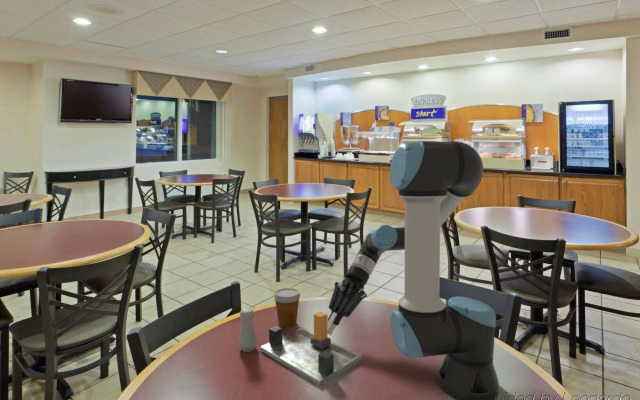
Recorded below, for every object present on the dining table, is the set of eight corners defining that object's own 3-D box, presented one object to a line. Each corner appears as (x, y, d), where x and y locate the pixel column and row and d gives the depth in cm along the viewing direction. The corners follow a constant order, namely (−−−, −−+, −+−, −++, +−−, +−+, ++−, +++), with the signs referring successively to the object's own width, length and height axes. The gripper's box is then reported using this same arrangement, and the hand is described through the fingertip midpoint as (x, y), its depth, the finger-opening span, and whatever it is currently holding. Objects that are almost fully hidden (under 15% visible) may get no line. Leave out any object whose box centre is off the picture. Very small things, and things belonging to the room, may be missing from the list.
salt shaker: (249, 342, 125) (248, 304, 123) (261, 348, 122) (260, 309, 120) (234, 349, 121) (233, 310, 119) (246, 355, 117) (245, 315, 115)
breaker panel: (361, 359, 114) (362, 339, 114) (319, 386, 102) (319, 363, 101) (302, 331, 132) (302, 313, 132) (260, 350, 120) (260, 331, 119)
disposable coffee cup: (302, 318, 142) (302, 288, 141) (298, 330, 133) (298, 298, 131) (277, 317, 143) (276, 287, 142) (271, 329, 134) (271, 297, 132)
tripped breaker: (330, 344, 120) (330, 314, 118) (321, 349, 117) (321, 318, 116) (319, 339, 123) (319, 309, 122) (310, 343, 120) (310, 313, 119)
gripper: (341, 260, 134) (307, 321, 124) (371, 268, 125) (336, 334, 115) (350, 271, 138) (318, 330, 129) (380, 280, 129) (348, 344, 120)
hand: (327, 332), depth 122 cm, fingers closed
